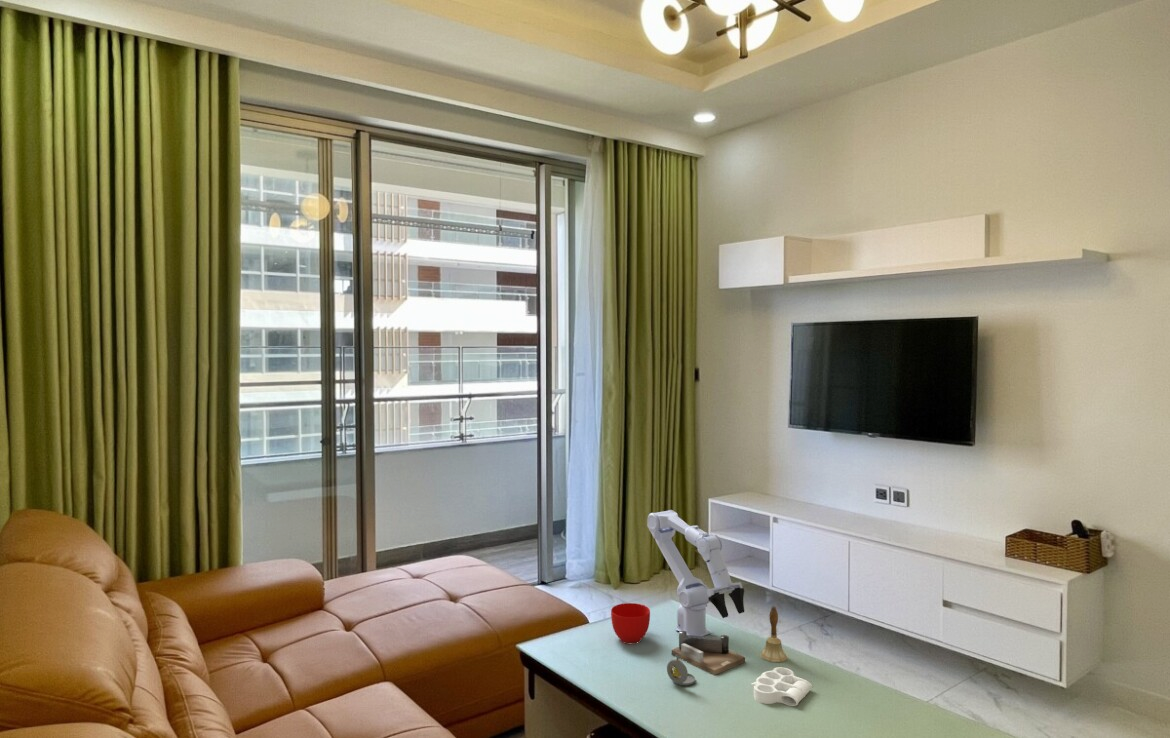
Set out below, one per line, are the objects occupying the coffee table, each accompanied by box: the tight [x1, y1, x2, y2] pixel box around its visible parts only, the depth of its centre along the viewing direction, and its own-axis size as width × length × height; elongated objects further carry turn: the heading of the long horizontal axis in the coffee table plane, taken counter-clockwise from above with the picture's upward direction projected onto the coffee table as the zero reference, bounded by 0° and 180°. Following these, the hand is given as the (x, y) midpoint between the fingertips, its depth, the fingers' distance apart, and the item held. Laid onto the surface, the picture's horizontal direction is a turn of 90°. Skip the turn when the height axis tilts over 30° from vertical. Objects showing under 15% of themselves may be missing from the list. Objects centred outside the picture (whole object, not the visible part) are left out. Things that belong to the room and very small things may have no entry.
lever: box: [678, 631, 730, 654], centre depth 223 cm, size 16×3×5 cm, turn 78°
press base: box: [671, 643, 746, 676], centre depth 221 cm, size 18×14×4 cm
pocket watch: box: [666, 652, 696, 686], centre depth 206 cm, size 8×8×10 cm
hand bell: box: [759, 605, 788, 663], centre depth 222 cm, size 8×8×16 cm
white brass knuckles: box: [750, 666, 813, 707], centre depth 200 cm, size 3×18×15 cm
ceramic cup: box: [610, 602, 651, 644], centre depth 237 cm, size 13×17×10 cm
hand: (733, 615), depth 225 cm, fingers open, 7 cm apart
